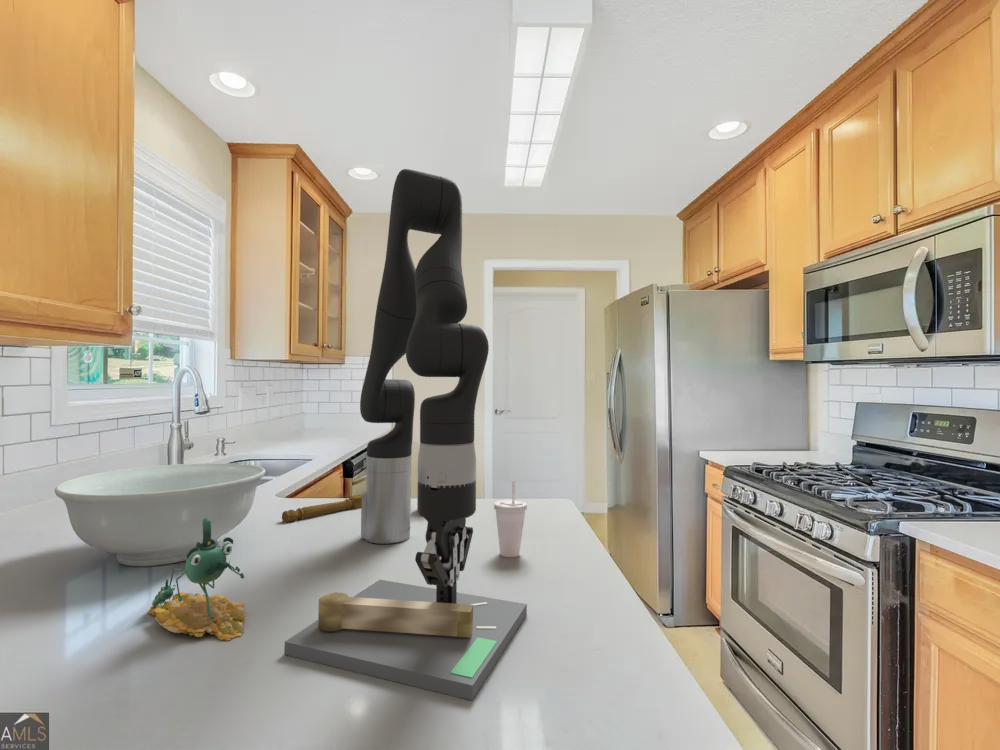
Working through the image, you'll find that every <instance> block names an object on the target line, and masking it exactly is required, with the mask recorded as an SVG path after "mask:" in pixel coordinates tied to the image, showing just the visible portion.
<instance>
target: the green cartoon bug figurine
mask: <svg viewBox="0 0 1000 750" xmlns="http://www.w3.org/2000/svg"><path fill="white" fill-rule="evenodd" d="M202 523H203V542H202V544H201V543H200V542H197V543H196V547H195V548H193V549H191V550H190V551H189V553H188V554H187V560H185V565H184V569H183V568H177V567H176V568H175V567H174V568H173V569H172V573H171V576H170V581H169V579H168V578H166V579H165V584H164V585H165V586H161V587H160V591H158V593H156V595H155V596H154V599H153V600H152V603H151V606H150V608H149V609H148V612H147V614H148V615H152V616H153V617H154V616H155V617H154V620H156V621H157V623H158V624H159V625H160V626H161V627H162V628H164V629H166V630H167V631H168V632H171V633H173V634H182V633H183V634H185V635H186V634H187V635H189V636H194V637H197V638H199V637H203V635H205V634H206V633H208V634H210V635H214V636H215V637H217V638H218V639H219V640H221V641H227V642H229V641H232V639H234V638H237V637H241V636H242V634H243V635H244V628H243V623H245V621H246V619H247V616H246V612H245V611H244V608H243V607H244V606H245V603H238V602H233V601H230V599H229V598H228V597H226V596H224V594H223V595H222V594H221V595H220V594H214V595H213V594H212V595H211V596H209V595H208V592H207V587H206V586H209V587H210V588H212V589H213V590H214V589H215V581H216V580H218V579H219V578H220V577H221V576H222V574H223V573H224V571H225V570H226V569H227V568H228V569H229V570H230V571H232V572H233V573H235V574H237V575H239V576H240V578H241V579H244V578H245V575H244V573H243V572H241V573H239V572H240V571H241V569H240V568H239V567H238V566H236V567H234V566H232V565H231V564H230V563H231V560H229V561H228V562H227V556H229V555H230V554H231V553H232V550H233V549H232V548H233V547H232V545H234V540H233V538H231V537H228V536H227V537H225V538H223V541H222V543H225V544H223V545H222V548H221V547H219V546H218V542H217V543H216V541H215V540H214V539H211V520H210V519H209V518H204V519H203V521H202ZM227 542H228V543H227ZM175 571H179V572H183V573H181V574H180V575H179V576H178V577H176V579H175V583H176V584H173V585H172V581H173V577H174V574H175ZM184 575H186V577H187V579H188V580H189V582H191V583H194V584H197V585H199V586H200V588H201V590H202V591H203V593H204V594H203V595H202V594H200V593H195V594H194V593H192V592H186V593H185V592H184V591H180V588H179V583H178V581H179V579H180V578H182V577H183V576H184ZM210 583H212V584H210ZM176 588H177V593H174V591H175V590H176Z"/></svg>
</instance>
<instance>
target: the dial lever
mask: <svg viewBox="0 0 1000 750" xmlns="http://www.w3.org/2000/svg"><path fill="white" fill-rule="evenodd" d="M317 620H318V628H319V629H320V630H322V631H328V632H329V631H337V630H340V629H343V628H345V629H359V630H373V631H387V632H401V633H415V634H429V635H443V636H457V637H470V636H471V633H472V630H473V605H469V604H453V603H437V602H422V601H406V600H391V599H375V598H360V597H354V596H349V594H347V593H345V592H331V593H326V594H324V595H322V596H320V597H319V599H318V619H317Z"/></svg>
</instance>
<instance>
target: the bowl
mask: <svg viewBox="0 0 1000 750" xmlns="http://www.w3.org/2000/svg"><path fill="white" fill-rule="evenodd" d="M265 475H266V469H265V468H264V467H262V466H259V465H254V464H247V463H246V464H245V463H225V462H224V463H222V462H220V463H219V462H217V463H215V462H213V463H181V464H178V463H177V464H163V465H148V466H141V467H133V468H131V467H130V468H125V469H116V470H109V471H104V472H97V473H91V474H87V475H84V476H79V477H76V478H71V479H69V480H66V481H64V482H61V483H59V484H58V485H56V486H55V488H54V494H55V495H56V496H57V497H58V498H59V499H62V501H63V502H64V504H65V507H66V511H67V514H68V519H69V523H70V526H71V528H72V530H73V531H74V533H75V535H76V536H77V537H78V539H80V540H81V541H82V542H83V543H84V544H86V545H88V546H89V547H92V548H94V549H96V550H99V551H103V552H106V553H112V554H115V555H116V559H117V562H118V563H119V564H122V565H124V566H130V567H154V566H155V567H156V566H161V565H162V566H163V565H170V564H175V563H180V562H184V561H185V562H186V560H187V554H188V553H189V551H190V550H191V549H193V548H195V547H196V543H197V542H200V543H201V544H202V542H203V523H202V521H203V519H204V518H209V519H210V520H211V539H214V540H215V541H216V543H217V544H218V539H220V537H222V536H225V535H227V534H228V533H229V532H231V531H232V530H234V529H235V528H236V527H237V526H239V525H240V524H241V523H242V521H244V520H245V518H246V517H247V516H248V514H249V513H250V511H251V510H252V506H253V504H254V501H255V496H256V491H257V487H258V483H259V482H260V481H261V479H262V478H263V477H264V476H265Z"/></svg>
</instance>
